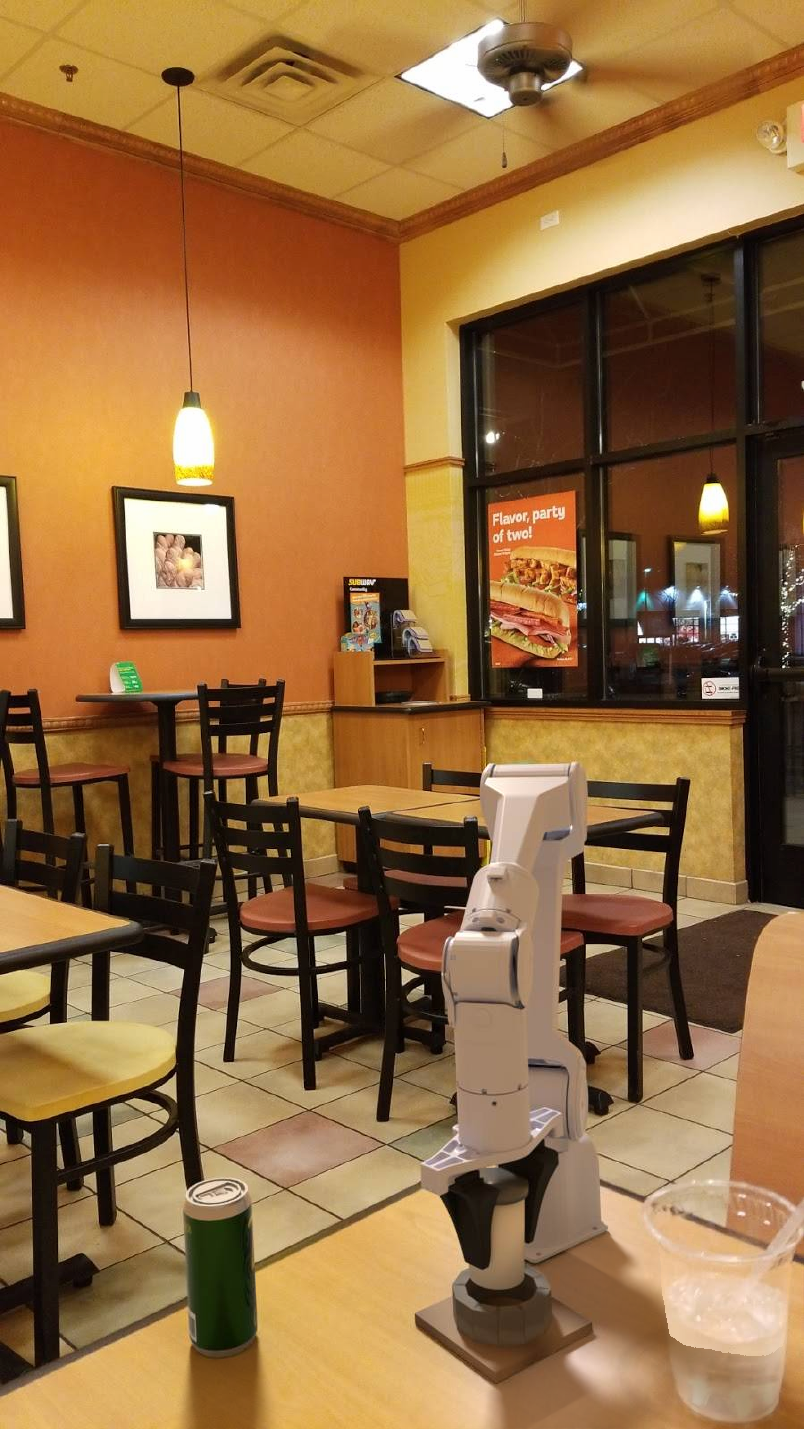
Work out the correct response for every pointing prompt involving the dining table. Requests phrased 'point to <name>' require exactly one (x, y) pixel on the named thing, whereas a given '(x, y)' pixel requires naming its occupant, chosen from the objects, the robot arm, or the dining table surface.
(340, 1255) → the dining table surface
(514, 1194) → the grey-capped cream cylinder
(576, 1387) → the dining table surface
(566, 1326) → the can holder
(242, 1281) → the green guarana soda can
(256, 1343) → the dining table surface
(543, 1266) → the dining table surface
